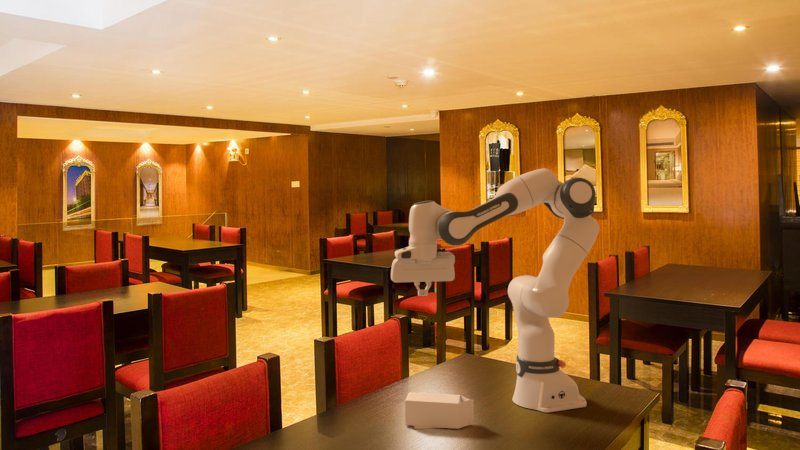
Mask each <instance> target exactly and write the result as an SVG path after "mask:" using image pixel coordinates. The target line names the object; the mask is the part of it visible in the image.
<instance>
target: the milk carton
mask: <svg viewBox="0 0 800 450" xmlns="http://www.w3.org/2000/svg"><path fill="white" fill-rule="evenodd" d="M474 407H475V404H474V399H470V398H467V397H465V396H463V395H461V394H451V393H450V394H449V393H447V394H446V393H433V392H419V391H417V392H414V391H410V392H408V394H407V396H406V398H405V400H404V411H405V412H404V417H405V418H404V423H405V426H413V427H414V426H425V427H440V428H439V429H441V428H443V429H446V428H447V429H454V430H455V429H458V430H459V429H462V428H465V427H467V426H470V425H471V426H474V418H475V417H474V413H475V412H474V410H475V409H474Z"/></svg>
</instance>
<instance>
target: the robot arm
mask: <svg viewBox="0 0 800 450" xmlns="http://www.w3.org/2000/svg"><path fill="white" fill-rule="evenodd" d="M595 202H596V189H595V186H594V184H592V182H591V181H589V180H588V179H586V178H583V177H572V178H570V179H568V180H566V181H565V182H562V181H560V180H559V179H558V178H557V176H556V175H555V173H554V172H553V171H552V170H551V169H549V168H545V167H543V168H538V169H535V170H531V171H528V172H525V173H522V174H520V175H517V176H515V177H513V178H511V179H509V180H508V181H506V182H505V183H503V184H501V185H500V186H499V187H498V189H497V191H496V194H495V195H494V196H493V198H492V199H490V200H488V201H486V202H484V203H482V204H479V205H478V206H476V207H474V208H472V209H470V210H467V211H454V210H451V209H448V208H446V207H443V206H442V205H440V204H438V203H437V202H436V201H434V200H431V199H429V200H423V201H418V202H415V203H413V204H412V206H411V207H410V209H409V215H408V231H409V240H408V246H406V247H403V248H400V249H396V250H395V251H394V257H395V258H394V259H393V260H392V263H391V269H390V280H391V281H392V282H393V283H413V284H414V286H415V288H416V290H417V296H418V297H428V296H429V289H430V288H431V287H432V282H452V281H454V280H455V277H456V276H455V275H456V274H455V273H456V271H455V263H456V256H455V254H454V253H453V252H451V251H438V240H442V241H444V243H446V244H448V245H450V246H460V245H464V244H465V243H467V242H468V241H469V240H470V239H471V238H472V237H473V236H474V234H475V233H476V232H478V231H479V230H481V229H482V228H484V227H486V226H488V225H490V224H492V223H494V222H497V221H498V220H500V219H503V218H504V217H505V218H506V217H509V216H512V215H517V214H520V213H523V212H525V211H528V210H530V209H533V208H535V207H536V206H539V205H542V204H544V206H545V207H547V209H548V210H549V211H550V212H551V214H553V215H554V216H555V217H556V218H558V219H561V220H562V219H563V224H562V226H561V229H560V230H559V231H558V232H557V234H556V235H555V237H554V238H553V240H552V242H550V244H549V246H548V247H547V249H546V250H545V251H544V252H543V255H542V265H541V269H540V272H539V273H538V275H536V276H533V275H529V274H527V275H525V274H524V275H519V276H516V277H514V278H513V279H512V280H510V282H509V284H508V287H507V296H508V298H509V300H510V302H511V305H512V308H513V311H514V312H513V313H514V317H515V322H516V327H517V329H516V330H517V356H516V361H515V362H516V363H515V371H516V382H515V388H514V393H513V396H512V402H513V403H514V404H516V405H517V406H520V407H522V408H527V409H530V410H536V411H539V412H542V413H553V412H560V411H561V412H562V411H567V410H573V409H580V408H586V407H587V404H588V403H587V400H586V398H585V397H584V396H582V394H580V391H579V387H578V384H577V383H576V382H575V380H574V379H573V378H572V377H570V376H569V375H568V374H567V373H565V372H564V371H563V370H562V369H563V368H565V367H566V366H567V363H566V362H565V361H564V360H562V359H559V358H558V357H556V356H555V339H556V338H555V331H554V329H553V328H552V327H553V326H551V323H550V321H549V319H550V318H559V317H561V316H563V315H564V314H565V313H566V312H567V311H568V308H569V305H570V297H569V296H570V295H569V289H570V286H571V284H572V280H573V278H574V275H576V272H577V271H578V269H579V268H580V266H581V265H582V263H583V262H584V260H585V259H586V257H587V256H588V254H589V253H590V251H591V249H592V247H593V246H594V243H595V242H596V240H597V237H598V235H599V232H600V225H599V222H598V221H597V220H596V218H594V217H593V216H592V214H593V213H594V211H595ZM422 282H423V283H425V284H426V286H425V287H424V289H420V285H421V283H422ZM560 368H561V369H560Z"/></svg>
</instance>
